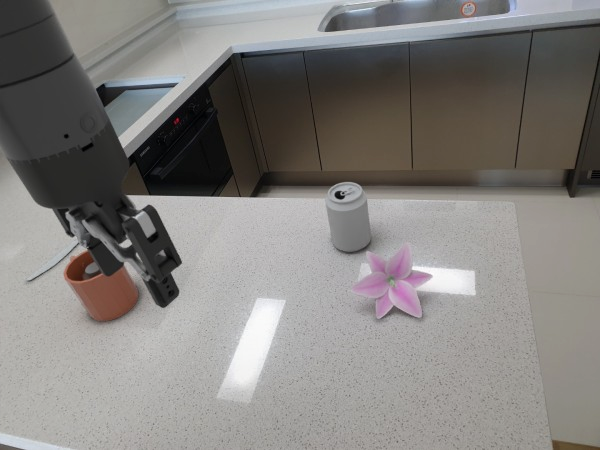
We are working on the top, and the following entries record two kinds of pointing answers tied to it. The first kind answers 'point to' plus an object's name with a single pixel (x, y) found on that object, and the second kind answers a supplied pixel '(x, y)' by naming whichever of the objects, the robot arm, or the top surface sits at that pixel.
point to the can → (348, 216)
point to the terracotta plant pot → (101, 289)
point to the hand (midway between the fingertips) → (140, 284)
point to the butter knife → (54, 260)
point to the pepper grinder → (91, 271)
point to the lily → (392, 282)
